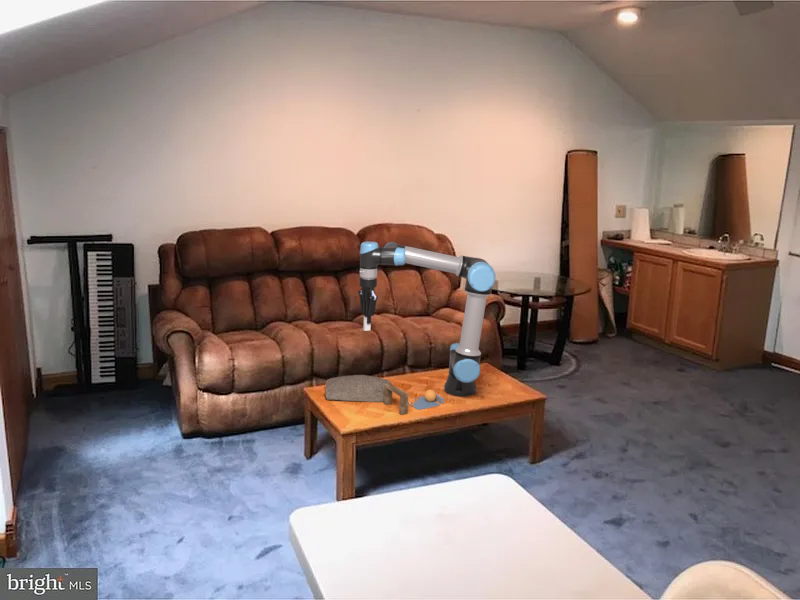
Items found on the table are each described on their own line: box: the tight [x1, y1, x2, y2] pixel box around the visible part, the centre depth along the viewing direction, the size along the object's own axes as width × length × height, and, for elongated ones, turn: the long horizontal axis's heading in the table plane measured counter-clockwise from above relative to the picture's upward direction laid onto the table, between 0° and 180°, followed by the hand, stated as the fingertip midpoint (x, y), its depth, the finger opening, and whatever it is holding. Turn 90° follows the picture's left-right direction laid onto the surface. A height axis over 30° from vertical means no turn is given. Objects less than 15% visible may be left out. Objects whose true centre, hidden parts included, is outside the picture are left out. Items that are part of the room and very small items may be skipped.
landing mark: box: [408, 395, 441, 411], centre depth 305 cm, size 12×12×1 cm
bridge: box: [383, 382, 409, 416], centre depth 296 cm, size 3×14×9 cm, turn 33°
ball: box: [423, 389, 437, 402], centre depth 306 cm, size 6×6×6 cm
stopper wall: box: [434, 393, 445, 405], centre depth 309 cm, size 1×10×2 cm, turn 33°
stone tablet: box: [324, 374, 392, 403], centre depth 312 cm, size 20×8×30 cm
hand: (366, 330), depth 299 cm, fingers closed
